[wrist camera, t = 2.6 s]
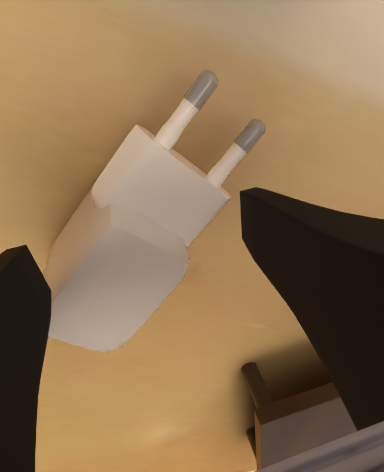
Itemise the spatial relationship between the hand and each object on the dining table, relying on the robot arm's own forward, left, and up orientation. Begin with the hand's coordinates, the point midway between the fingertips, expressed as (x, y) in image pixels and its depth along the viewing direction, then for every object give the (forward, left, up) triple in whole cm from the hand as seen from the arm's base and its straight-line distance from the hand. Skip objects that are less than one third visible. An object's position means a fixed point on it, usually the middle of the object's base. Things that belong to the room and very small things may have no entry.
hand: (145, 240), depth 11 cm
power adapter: (0, 0, -6) cm, 6 cm away
